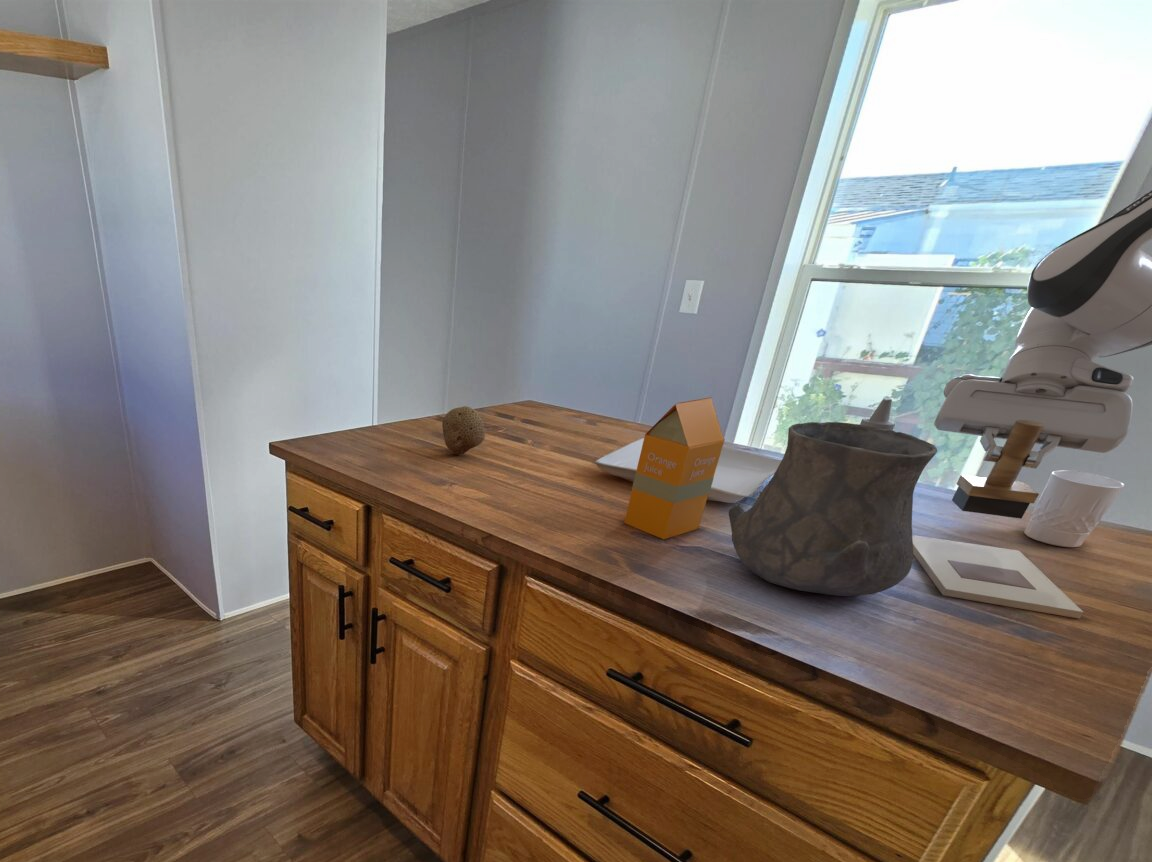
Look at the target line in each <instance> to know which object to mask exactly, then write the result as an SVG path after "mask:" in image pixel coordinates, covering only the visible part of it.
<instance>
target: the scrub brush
mask: <svg viewBox="0 0 1152 862" xmlns="http://www.w3.org/2000/svg"><path fill="white" fill-rule="evenodd" d="M1043 427H1044V424H1042V423H1039V422H1034V421H1027V420H1017V421H1016V422H1015V424H1014V426H1013V428H1012V430H1011V432H1010V434H1009V436H1008V438H1007V439H1005V442H1004V444H1003V445H1002V447H1003V449H1002V451H1001V455H1000V457H999V459H998V460H997V461H996V462H994V463H993V466H992V468H991V470H989V471H990V472H989V474H988V475H987V477H984V476H983V477H982V476H975V475H966V474H961V475H959V477H958V479H957V481H956V485H957V489H956V490H955V493H954V495H953V497H952V499H951V501H952V502H953V503H954V504H955V505H956V506H957V507H958V509H960V511H961V512H967V513H968V512H969V513H975V514H981V515H982V514H983V515H989V516H991V515H992V516H997V517H998V516H999V517H1006V518H1012V519H1013V518H1014V519H1023V517H1024V515H1025V513H1026V511H1027V510H1028V508H1029V506H1030V504H1035V502H1037V499H1038V497H1039V495H1040V493H1039V492H1037V491H1036V490H1035V489H1034V488H1032V487H1031V486H1030V485H1028V484H1027V483H1026V482H1024V481H1018V480H1017V478H1018V476H1019V474H1020V472H1021V470H1022V469H1023V468H1024V467H1023V465H1024V463H1025V461H1026V459H1027V457H1028V455H1029V454H1030V452H1031V451H1033V448H1034V446H1035V445H1036V443H1035V442H1036V440H1037V439H1038V437H1039V435H1040V433H1041V431H1042V429H1043Z"/></svg>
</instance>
